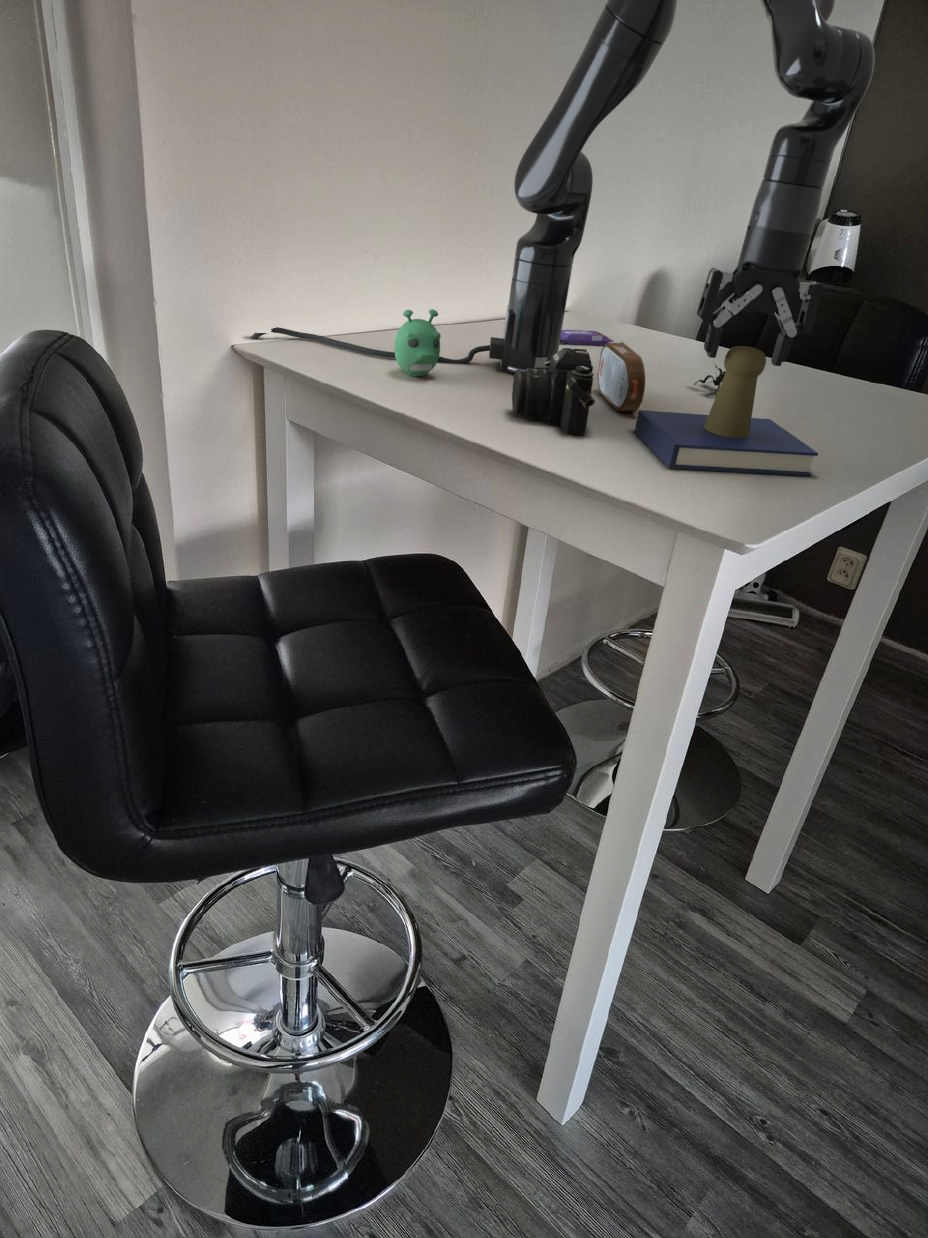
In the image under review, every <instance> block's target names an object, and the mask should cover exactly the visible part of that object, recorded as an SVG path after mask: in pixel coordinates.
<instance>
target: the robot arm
mask: <svg viewBox="0 0 928 1238" xmlns="http://www.w3.org/2000/svg"><path fill="white" fill-rule="evenodd" d="M759 2H760V4H761V8H762V9H763V12H764V15H765V17H766V19H767V21H768V23H769V26H770V33H771V36H770V37H771V46H772V47H771V48H772V61H773V69H774V74H775V77H776V80H777V81H778V83H779V85H780V86H781V87H782V88H783V90H784V91H785V92H786V93H787V94H789V95H790V96H792V97H794V98H797V99H802V100H808V101H809V100H810V101H811V102H810V104H809V106H808V108H807V110H806V112H805V113H804V115H803V117H802V119H801V120H800V121H798V122H794V123H788V124H784V125H782V126H780V128H778V129H777V130H776V132H775V134H774V137H773V139H772V142H771V145H770V149H769V152H768V153H769V154H768V157H767V161H766V164H765V168H764V171H763V176H762V179H761V183H760V185H759V188H758V191H757V193H756V195H755V198H754V202H753V205H752V208H751V213H750V217H749V220H748V224H747V227H746V232H745V235H744V238H743V242H742V247H741V251H740V254H739V258H738V262H737V266H736V267H735V269H734V270H733V271H732V272H729V271H724V270H720V269H719V268H717V267H712V268H710V269H709V271H708V274H707V278H706V280H705V284H704V287H703V291H702V294H701V297H700V300H699V304H698V306H697V310H696V315H697V316H698V317H699V318H700V319H701V320H702V321H704V322H706V323H707V324H708V328H707V332H706V336H705V340H704V344H703V348H704V351H705V352H706V356H708V358H711V359H716V357H717V355H718V350H719V347H720V343H721V339H722V336H723V332H724V328H722V327H723V326H724V324H726V323H727V322H728V321H729V320H730V319H731V318H732V317H734V316H736V315H738V314H739V312H741V311H742V310H743V311H745V312H746V313H752V314H753V313H761V314H764V315H767V316H772V314H774V316H775V318H776V319H777V322H778V324H779V328H780V330H781V333H778V335H777V339H776V343H775V345H774V349H773V352H772V355H771V360H770V363H771V364H772V365H773V366H775V367H781V366H782V364H783V363H786V361H787V360H788V358H789V356H790V352H791V349H792V346H793V343H794V339H795V338H796V337H797V336H799V335H803V334H804V335H809V334H811V333H812V331H813V329H814V324H815V321H816V317H817V312H818V308H819V305H820V301H821V296H822V293H823V288H824V287H823V285H822V284H821V283H818V282H817V281H815V280H810V281H808V282H805V281H804V282H803V281H800V275H801V271H802V268H803V265H804V262H805V259H806V256H807V252H808V249H809V247H810V246H809V245H810V242H811V238H812V236H813V233H814V230H815V228H816V225H817V219H818V215H819V211H820V207H821V202H822V195H823V191H824V187H825V185H826V184H825V183H826V180H827V177H828V174H829V170H830V166H831V162H832V159H833V157H834V152H835V151H836V148H837V146H838V144H839V142H840V141H841V139H842V137H843V135H844V134H845V132H846V130H847V129H848V127H849V125H850V124H851V121H852V119H853V117H854V115H855V113H856V111H857V110H858V108H859V106H860V104H861V102H862V100H863V98H864V97H865V96H866V93H867V91H868V89H869V86H870V83H871V82H872V78H873V74H874V71H875V70H874V69H875V61H876V60H875V59H876V58H875V57H876V54H875V47H874V44H873V42H872V40H871V38H870V37H869V36H868V34H866V33H864V32H862V31H859V30H856V29H855V30H854V29H851V28H845V27H841V26H837V25H833V24H829V23H827V22H828V20H829V19H830V17H831V15H832V13H833V11H834V7H835V2H836V0H759ZM677 5H678V0H607V1H606V3H605V4H604V7H603V9H602V11H601V12H600V15H599V16H598V18H597V21H596V22H595V25H594V26H593V28H592V30H591V32H590V35H589V37H588V39H587V41H586V43H585V45H584V47H583V50H582V52H581V54H580V55H579V58H578V59H577V62H576V63H575V65H574V67H573V69H572V70H571V73H570V74H569V76H568V77H567V80H566V81H565V84H564V86H563V88H562V90H561V92H560V93H559V95H558V97H557V98H556V101H555V103H554V105H553V106H552V108H551V110H550V112H549V113H548V115H547V116H546V118H545V119H544V121H543V122H542V124H541V126H539V129H538V130H537V132H536V134H535V135H534V137H533V138H532V139H531V140H530V143H529V144H528V146H527V147H526V149H525V151H524V153H523V155H522V157H521V158H520V159H519V162H518V165H517V167H516V171H515V176H514V184H513V186H514V188H513V189H514V195H515V199H516V201H517V203H518V205H519V206H520V207H521V208H522V209H523V210H525V211H526V212H529V213H531V214H536V217H535V220H534V223H533V224H532V226H531V227H530V228H529V230H528V231H527V232H525V233H524V234H523V235H521V236H520V237H519V238H518V239H517V241H516V246H515V251H514V252H515V253H514V260H513V268H512V274H511V283H510V290H509V299H508V304H507V306H506V313H505V322H504V329H503V336H502V337H493V336H490V340H489V341H490V342H489V344H488V345H487V344H486V345H480V346H479V345H478V346H476V347H473V348H471V350H470V351H469V352H468V354H467V356H466V357H464V358H460V359H453V358H448V357H443V356H440V355H439V358H438V361H437V363H440V364H441V363H442V364H455V365H465V364H468V363H470V362H472V361H473V359H474V357H475V355H477V354H478V353H482V352H488V359H491V360H492V359H493V360H499V367H500V369H499V370H500V371H501V372H507V373H511V374H513V375H515V372H516V370H517V369H520V370H521V371H523V372H524V371H525V370H526V369H527V368H530V369H545V370H548V371H549V367H548V366H546V365H545V363H544V362H545V361H546V360H547V357H548V356H549V357H552V356H553V355H554V354H555V353H557V352H558V351H560V350H559V349H560V343H561V339H560V338H561V332H562V330H563V325H564V319H565V313H566V308H567V307H566V306H567V300H568V295H569V289H570V288H569V287H570V284H571V283H570V282H571V278H572V277H571V276H572V270H573V264H574V259H575V255H576V253H577V251H578V249H579V248H580V246H581V244H582V241H583V236H584V233H585V227H586V223H587V219H588V213H589V208H590V205H591V204H590V203H591V199H592V193H593V186H594V185H593V184H594V183H593V181H594V177H593V169H592V168H593V167H592V165H591V162H590V159H589V158H588V157H587V155H585V154H584V153H583V152H582V150H583V148H584V147H585V145H586V143H587V142H588V140H589V139H590V137H591V135H592V134H593V133H594V131H595V130H596V129H597V128H598V126H599V125H600V124H601V123H602V122H603V121H604V120H606V118H607V117H608V116H609V115H610V114H611V113H612V112H613V111H614V110H615V109H616V108H617V107H618V106H620V105H621V104H622V102H623V101H625V99H626V98H628V97H629V96H630V94H632V93H633V91H634V90H635V89H636V88H637V87H638V86H639V85H640V83H642V80H643V79H644V78H645V76H646V75H647V74H648V72H649V71H650V69H651V67H652V65H653V64H654V62H655V60H656V59H657V57H658V55H659V53H660V51H661V50H662V47H663V46H664V45H665V43H666V42H667V38H668V37H669V35H670V32H671V30H672V27H673V25H674V21H675V18H676V11H677ZM728 283H729V284H730V287H731V289H732V291H733V293H732V294H731V295H729V296H728V297H727V298H726V300H724V301H723V302H722V303H721V306H720V307H718V308H717V309H716V310H715V311H714V312H713V309H714V307H715V303H716V300H717V297H718V294H719V291H721V290H723V289H724V288H725V287H726V285H727V284H728ZM798 292H799V298H800V300H802V302H801V306H800V310H799V315H798V319H797V322H794V319H793V314H792V312H791V310H790V307H789V304H788V302H789V301H790V300H791V299H792V298H793V297H795V296H796V295H797V294H798ZM275 327H276V328H273V329H271V330H272V331H271V332H273V333H272V334H282V335H286V336H289V337H292V338H293V337H294V338H297V339H304V340H311V341H316V342H321V343H324V344H328V345H331V346H335V347H338V348H342V349H347V350H349V351H354V352H357V353H362V354H366V355H370V356H375V357H382V358H388V359H389V358H390V359H396V357H395V351H387V350H379V349H374V348H369V347H365V346H362V345H357V344H353V343H350V342H346V341H341V340H337V339H333V338H330V337H326V336H323V335H319V334H314V333H308V332H302V331H297V330H293V329H289V328H283V327H279V326H275ZM267 334H268V333H256V332H254V333H253V334H252V335H251V336H250V337H249V340H257V339H258V338H259V339H260V337H262V336H264V335H267Z"/></svg>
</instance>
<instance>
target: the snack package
mask: <svg viewBox="0 0 928 1238" xmlns="http://www.w3.org/2000/svg"><path fill="white" fill-rule="evenodd" d="M560 340H562V341H564V342H565V343H566V344H568V345H569V344H571V345H584V346H604V345H605V344H607V343H616V342H615V340H613V339H611V338H609V337H608V336H607V335H605V334H603V333H601V332H600V331H596V330H582V329H581V330H580V329H562V332H561V338H560Z"/></svg>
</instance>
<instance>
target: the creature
mask: <svg viewBox="0 0 928 1238" xmlns="http://www.w3.org/2000/svg"><path fill="white" fill-rule="evenodd" d="M715 363H716V362H713V364H714V366H715V369H717V370H718V371H719V373H718V375H717V372H715V373H716V375H715V378H714V376H713V375H711V374H709V375H708V374H707V375H706V376H705V378H704V379H698V380H697V381H695V382H694V384H693V387H695V386H696V385H697V384H698V383H701V384H704V385H703V388H708V389H709V390H711V391H714V388H712V387H709V386H706V385H708V384H710V383H713V385H714V386H717V388H716V389H715V391H714V392H711V393H708V394H705V395H704V396H705V397H708V396H711V395H715V394H717V393H718V390H719V388H720V385H721V383H722V380H723V378H724V375H725V373H726V370H725V371H723V369H722V368H720V367H718V366H717V364H715ZM710 378H711V379H712V380H710V381H709V382H707V381H708V380H709V379H710ZM706 382H707V383H706Z"/></svg>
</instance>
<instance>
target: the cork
mask: <svg viewBox="0 0 928 1238" xmlns="http://www.w3.org/2000/svg"><path fill="white" fill-rule="evenodd" d="M766 365H767V357H766V353H764V352H763V351H762V350H760V349H758V348H756V347H751V346H746V345H737V346H732V347H731V348H729V349H728V351H727V352H726V354H725V356H724V360H723V366H724V369H725V371H726V373H725V375H724V378H723V380H722V382H721V383H720V388H719V390H718V391H717V392H716V394H715V397H714V400H713V402H712V406H711V408H710V409H709V413H708V414H707V415H708V418H707V420H706V423H705V425H704V428H705V429H706V430H707V431H709V432H711V433H714V434H717V435H720V436H724V437H730V438H746V437H748V436H749V432H750V425H751V418H753V411H754V403H755V398H756V390H757V389H756V388H757V382H758V377H759V376H760V375H761V374H762V373H763V372H764V370H765V367H766Z"/></svg>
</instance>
